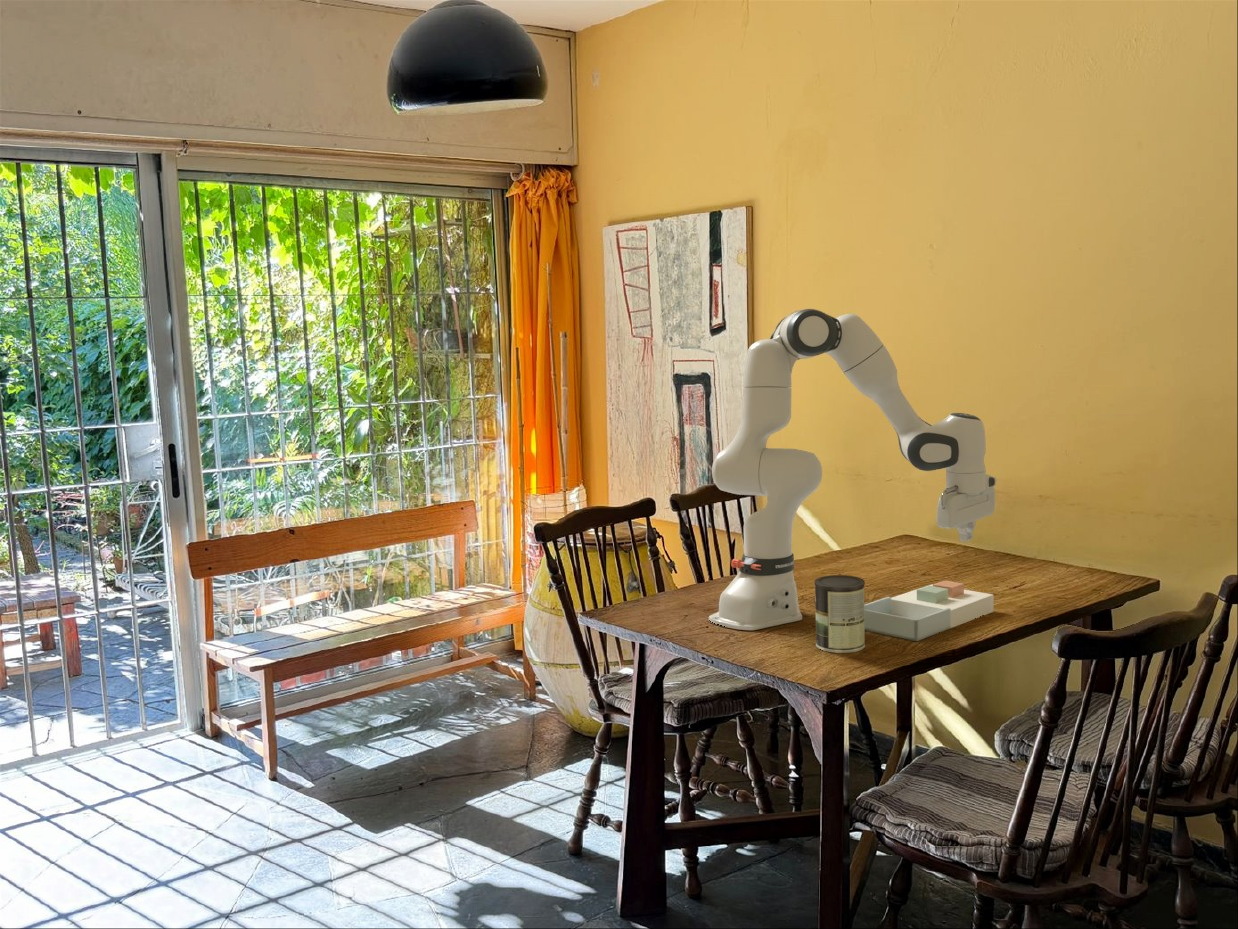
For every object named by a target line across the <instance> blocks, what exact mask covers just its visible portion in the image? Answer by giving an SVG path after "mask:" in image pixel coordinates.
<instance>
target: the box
mask: <svg viewBox="0 0 1238 929" xmlns="http://www.w3.org/2000/svg"><path fill="white" fill-rule="evenodd" d="M891 598H892V597H891V596H886V597H883V598H880V599H877V600H874V601H871V602H869V603H864V631H867V632H872V633H877V634H881V635H886V636H890V637H896V638H900V639H904V640H908V641H913V642H919V641H921V640H924V639H926V638H930V637H932V636H934V635H936V634H939V632H940V633H942V632H945V631H947V630H950V629H951V628H950V608H946V609H943V610H941V611H938V612H935V613H932V614H930V615H927V616H924V617H921V618H919V619H913V618H908V617H903V616H898V615H893V614H891Z"/></svg>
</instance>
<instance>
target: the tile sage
mask: <svg viewBox="0 0 1238 929" xmlns="http://www.w3.org/2000/svg"><path fill="white" fill-rule="evenodd" d="M925 586H926V587H925ZM925 586H923V588H922V587H920V589H919V588H917V600H919V601H924V602H930V603H935V604H937V603H939V602H942V601H945V600H948V589H946V588H940V587H934V586H928V585H925Z"/></svg>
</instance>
